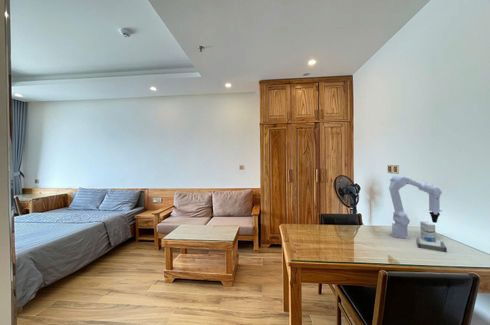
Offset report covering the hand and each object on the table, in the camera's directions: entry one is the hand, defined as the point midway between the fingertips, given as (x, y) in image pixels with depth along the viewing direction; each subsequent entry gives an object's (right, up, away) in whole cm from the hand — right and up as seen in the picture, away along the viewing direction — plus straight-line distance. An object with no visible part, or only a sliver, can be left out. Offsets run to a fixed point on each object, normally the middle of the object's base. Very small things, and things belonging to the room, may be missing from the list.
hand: (434, 222), depth 155 cm
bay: (-17, -11, -17) cm, 26 cm away
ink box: (-9, -11, -5) cm, 15 cm away
